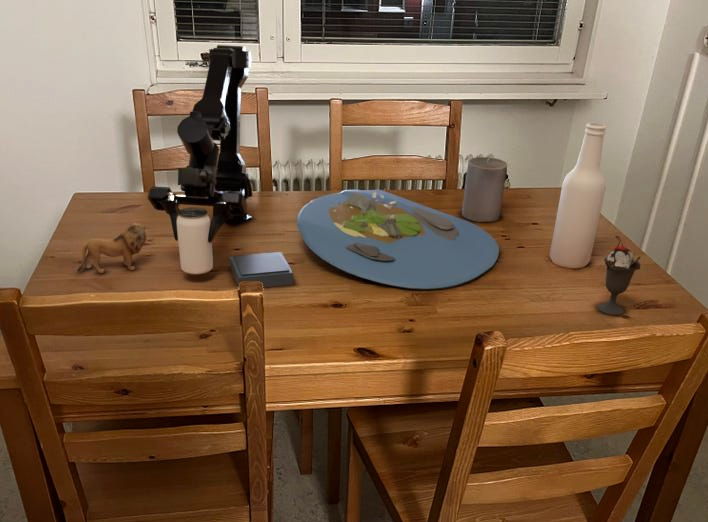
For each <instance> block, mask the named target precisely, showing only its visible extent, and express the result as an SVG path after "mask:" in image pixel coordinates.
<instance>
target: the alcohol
mask: <svg viewBox="0 0 708 522" xmlns="http://www.w3.org/2000/svg"><path fill="white" fill-rule="evenodd" d="M606 129H607V126H606V124H604V123H602V122H596V121H595V122H594V121H591V122H588V123H586V124H585V129H584V136H583V139H582V143H581V147H580V150H579V154H578V157H577V161H576V164H575V166H574V168H573V169H571V170H570V171H569V172H568V173H567V174H566V175H565V177H564V179H563V182H562V185H561V190H560V196H559V201H558V207H557V211H556V217H555V222H554V228H553V234H552V240H551V244H550V249H549V258H550V261H551V262H552V263H553V264H555V265H556V266H559V267H562V268H566V269H582V268H584V267H586V266H587V265H588V264H589V263H590V261H591V258H592V253H593V248H594V244H595V239H596V234H597V230H598V225H599V222H600V221H599V220H600V216H601V212H602V206H603V202H604V199H605V198H604V197H605V193H606V188H607V187H606V179H605V177H604V174H603V173H602V171H601V161H602V152H603V144H604V137H605V134H606Z"/></svg>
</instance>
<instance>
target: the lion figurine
mask: <svg viewBox="0 0 708 522" xmlns="http://www.w3.org/2000/svg"><path fill="white" fill-rule="evenodd" d="M146 241H147V232H146V229H145V225H143V224H141V223H137V222H134V223H131V224H129V225H127V228H126V230H124V231H123V232H121V233H120V234H119V235H117V237H115V238H112V239H103V238H97V237H96V238H91V239H89V240H87V242H85V244H84V246H83V248H82V255H81V263H80V266H78V268H77V269H76V272H80V271H82V269H83V268H85V269H91V268H92V264H89V262H90V261H91V260H93V267H94V268H95V270H96V271H97V273H99V274H104V273H105V272H106V271H105V269H104V268H100V265H99V263H100V259H101V254H102V255H104V256H106V257H110V258H118V257H122V258H123V264H124V265H125V266H126V267H127V268H128V270H129V271H135V270H136V266H133V255H136V254H139V253H140V252H141V250H142V248H143V247H144V245H145V244H146Z"/></svg>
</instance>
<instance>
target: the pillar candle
mask: <svg viewBox="0 0 708 522" xmlns="http://www.w3.org/2000/svg"><path fill="white" fill-rule="evenodd" d="M507 171H508V163H507V162H506V161H504V160H502V159H499V158H495V157H489V156H479V157H477V156H476V157H472V158H470V159H468V160H467V168H466V175H465V183H464V193H463V198H462V199H463V200H462V208H461V216H462V217H463V218H464V219H466V220H469V221H472V222H476V223H485V222H487V223H490V222H491V223H492V222H496V221H498V220H499V219H500V218H501V211H502V206H503V198H504V191H505V185H506V177H507Z"/></svg>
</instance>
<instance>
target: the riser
mask: <svg viewBox="0 0 708 522" xmlns="http://www.w3.org/2000/svg"><path fill="white" fill-rule="evenodd" d="M229 269H230V271H231V273H232V276H233V278H234V280H235V283H236V285H237V287H238V286H239V283H240V282H242V281H260V282H262V283H263V286H264V288H263V289H266V288H275V287H284V286H285V287H287V286H293V285H294V271H293V270H292V268H291V267H290V264H289V263H288V261H287V259H286V258H285V256H284V255H283V252H282V251H274V252H273V251H272V252H263V253H261V252H260V253H250V254H239V255H230V256H229Z"/></svg>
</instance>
